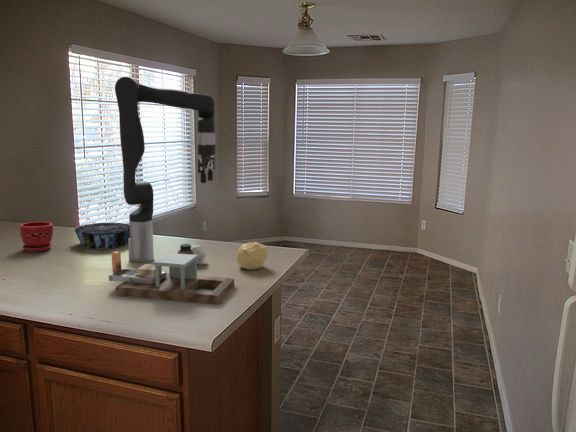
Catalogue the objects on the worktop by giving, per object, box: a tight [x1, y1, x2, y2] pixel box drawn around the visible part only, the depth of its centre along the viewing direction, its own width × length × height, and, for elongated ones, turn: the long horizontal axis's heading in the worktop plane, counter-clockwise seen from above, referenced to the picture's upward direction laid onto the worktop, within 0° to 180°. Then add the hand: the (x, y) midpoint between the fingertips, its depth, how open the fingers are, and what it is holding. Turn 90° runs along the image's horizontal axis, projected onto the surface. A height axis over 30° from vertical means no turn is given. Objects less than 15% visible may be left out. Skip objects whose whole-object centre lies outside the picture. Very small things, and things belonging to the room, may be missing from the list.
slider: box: [108, 250, 167, 285], centre depth 167 cm, size 18×9×9 cm, turn 80°
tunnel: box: [153, 252, 198, 289], centre depth 165 cm, size 11×12×9 cm
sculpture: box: [236, 241, 269, 271], centre depth 194 cm, size 11×12×11 cm
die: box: [190, 244, 207, 266], centre depth 198 cm, size 8×9×10 cm
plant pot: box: [19, 221, 54, 253], centre depth 215 cm, size 13×13×12 cm
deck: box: [115, 272, 235, 305], centre depth 166 cm, size 36×18×3 cm, turn 80°
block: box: [137, 263, 163, 278], centre depth 167 cm, size 6×6×5 cm
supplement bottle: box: [177, 243, 193, 255], centre depth 185 cm, size 6×6×11 cm
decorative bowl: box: [73, 222, 130, 250], centre depth 227 cm, size 26×28×10 cm
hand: (206, 181), depth 204 cm, fingers open, 8 cm apart
